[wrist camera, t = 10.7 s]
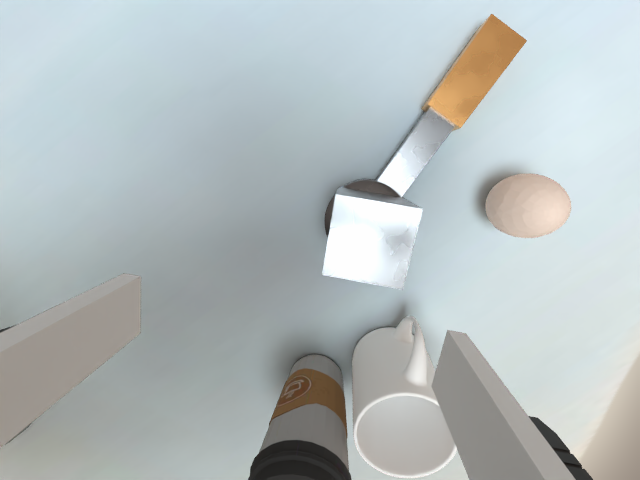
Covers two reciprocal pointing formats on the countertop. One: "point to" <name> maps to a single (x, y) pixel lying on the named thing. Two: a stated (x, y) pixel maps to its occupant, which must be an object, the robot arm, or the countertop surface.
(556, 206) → the egg
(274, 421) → the coffee cup
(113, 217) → the countertop surface
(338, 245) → the grey rectangular block
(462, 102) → the ratchet
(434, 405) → the mug
